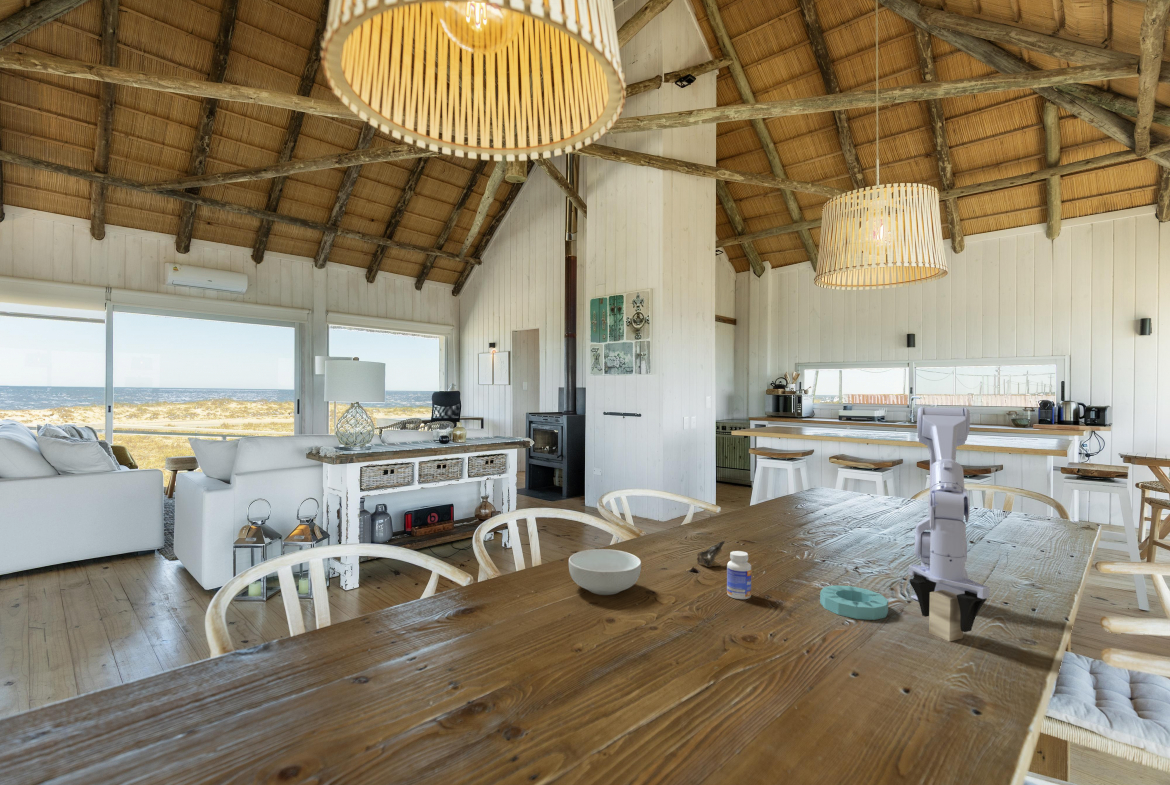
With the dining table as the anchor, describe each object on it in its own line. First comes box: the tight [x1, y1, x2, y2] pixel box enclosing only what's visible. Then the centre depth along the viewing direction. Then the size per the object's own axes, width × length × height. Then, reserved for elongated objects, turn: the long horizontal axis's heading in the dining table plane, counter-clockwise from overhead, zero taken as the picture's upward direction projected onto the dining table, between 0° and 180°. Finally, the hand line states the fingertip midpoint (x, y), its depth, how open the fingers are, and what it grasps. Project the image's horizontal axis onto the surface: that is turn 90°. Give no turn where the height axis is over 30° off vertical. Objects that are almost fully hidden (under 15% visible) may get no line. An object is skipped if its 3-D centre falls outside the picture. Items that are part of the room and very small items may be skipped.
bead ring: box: [819, 584, 889, 621], centre depth 122 cm, size 13×13×2 cm
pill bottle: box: [726, 550, 752, 600], centre depth 128 cm, size 5×5×10 cm
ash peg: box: [928, 590, 964, 642], centre depth 109 cm, size 4×4×8 cm
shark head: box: [696, 540, 726, 568], centre depth 150 cm, size 8×6×7 cm
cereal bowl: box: [568, 548, 642, 596], centre depth 131 cm, size 17×17×7 cm
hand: (945, 622), depth 109 cm, fingers open, 7 cm apart
